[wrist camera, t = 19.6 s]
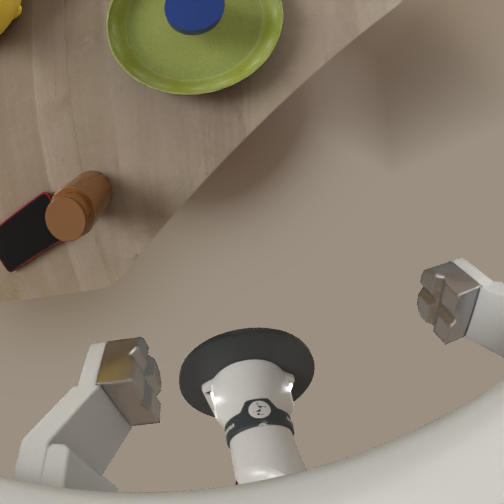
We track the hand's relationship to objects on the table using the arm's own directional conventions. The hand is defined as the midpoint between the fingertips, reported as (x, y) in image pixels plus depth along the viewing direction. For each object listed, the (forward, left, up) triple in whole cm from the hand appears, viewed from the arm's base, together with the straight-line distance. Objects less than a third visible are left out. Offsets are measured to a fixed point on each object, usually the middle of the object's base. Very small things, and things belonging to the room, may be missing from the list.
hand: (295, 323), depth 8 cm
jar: (-5, +17, -34) cm, 38 cm away
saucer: (+17, +3, -34) cm, 38 cm away
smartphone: (-10, +29, -34) cm, 46 cm away
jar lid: (+17, +3, -29) cm, 34 cm away
